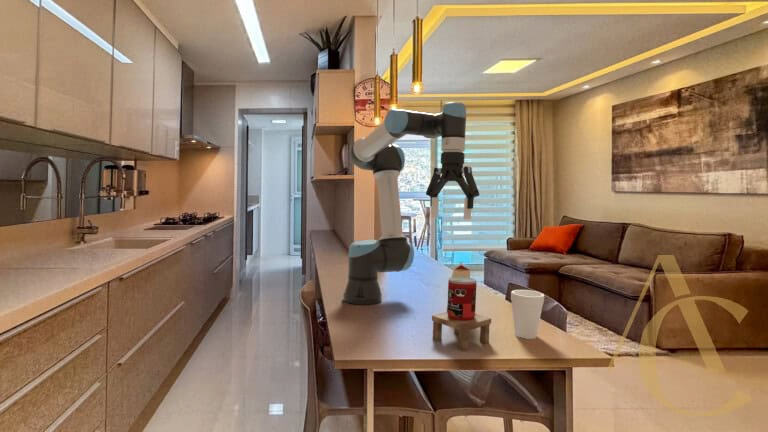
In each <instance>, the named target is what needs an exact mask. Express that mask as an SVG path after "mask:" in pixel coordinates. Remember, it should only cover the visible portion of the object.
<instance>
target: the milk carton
mask: <svg viewBox="0 0 768 432" xmlns="http://www.w3.org/2000/svg"><path fill="white" fill-rule="evenodd" d="M462 264H463V261H460V262H459V265H458V266H457V267H455V268H454V269H453V270H452V274H451V277H468V278H471V270H470V269H469V268H467V267H466V266H464V265H462ZM447 310H448V302H447V305H446V311H447Z"/></svg>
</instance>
